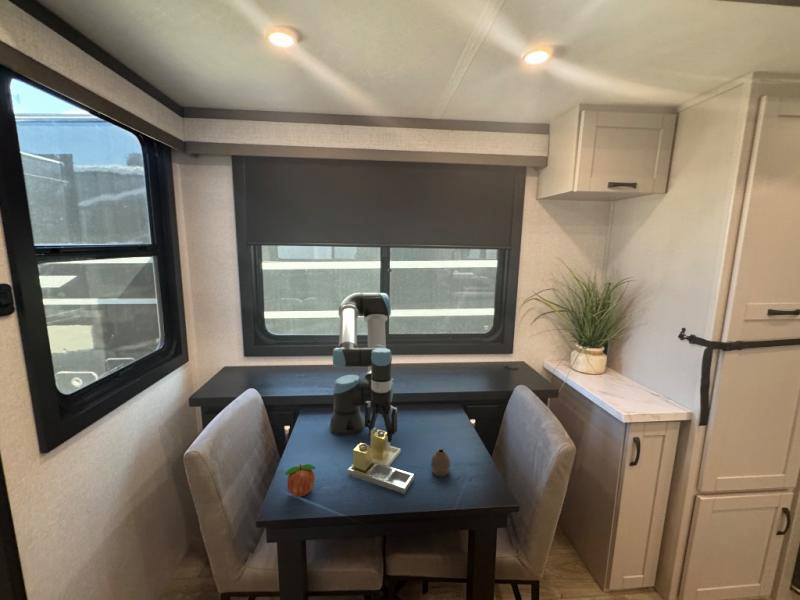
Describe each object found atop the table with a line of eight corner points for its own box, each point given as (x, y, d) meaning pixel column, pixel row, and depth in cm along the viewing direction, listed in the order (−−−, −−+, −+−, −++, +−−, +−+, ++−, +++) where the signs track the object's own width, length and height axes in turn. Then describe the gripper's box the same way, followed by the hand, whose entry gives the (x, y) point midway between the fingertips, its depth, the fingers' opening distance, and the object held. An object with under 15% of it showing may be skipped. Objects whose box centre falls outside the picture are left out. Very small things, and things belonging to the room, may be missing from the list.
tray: (358, 461, 130) (358, 456, 130) (374, 445, 141) (374, 441, 140) (387, 470, 125) (387, 465, 125) (400, 453, 136) (400, 448, 135)
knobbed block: (377, 450, 136) (378, 428, 135) (389, 454, 134) (389, 431, 132) (371, 457, 131) (372, 434, 130) (383, 461, 129) (383, 437, 128)
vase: (444, 482, 119) (446, 459, 118) (427, 475, 123) (428, 452, 121) (452, 471, 125) (453, 449, 124) (435, 465, 128) (436, 443, 127)
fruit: (315, 500, 109) (314, 471, 108) (284, 504, 107) (283, 474, 106) (316, 482, 118) (315, 455, 116) (287, 485, 116) (286, 458, 114)
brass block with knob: (353, 473, 122) (353, 448, 121) (360, 465, 127) (360, 441, 125) (365, 477, 120) (365, 451, 119) (372, 469, 125) (372, 444, 123)
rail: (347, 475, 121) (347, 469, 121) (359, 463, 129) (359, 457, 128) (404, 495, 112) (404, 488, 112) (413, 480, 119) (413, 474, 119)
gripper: (354, 388, 129) (354, 445, 133) (399, 398, 122) (398, 458, 125) (364, 381, 136) (364, 436, 139) (407, 390, 128) (406, 448, 132)
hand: (380, 446), depth 132 cm, fingers open, 6 cm apart
